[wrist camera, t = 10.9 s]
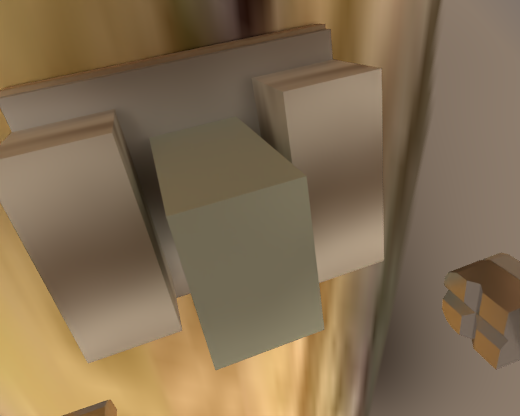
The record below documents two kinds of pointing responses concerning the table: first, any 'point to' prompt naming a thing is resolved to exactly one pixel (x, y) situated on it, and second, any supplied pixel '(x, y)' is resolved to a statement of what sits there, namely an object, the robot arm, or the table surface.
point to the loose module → (240, 237)
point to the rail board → (146, 181)
